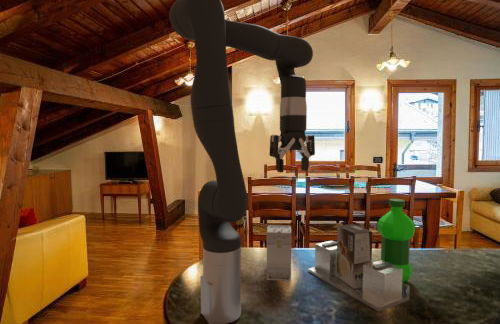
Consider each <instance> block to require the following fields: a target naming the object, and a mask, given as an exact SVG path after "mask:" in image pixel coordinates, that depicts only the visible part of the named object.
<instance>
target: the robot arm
mask: <svg viewBox="0 0 500 324" xmlns="http://www.w3.org/2000/svg"><path fill="white" fill-rule="evenodd" d="M168 14H169V17H168V18H169V22H170V24H171V27H172V29H173V30H174V32H175V33H177V35H178V36H179V37H182V38H184V39H186V40H189V41H194V48H195V60H196V61H195V62H196V63H195V64H196V65H195V69H194V70H195V71H194V76H193V80H192V86H191V92H190V108H191V115H192V121H193V127H194V131H195V133H196V136H197V138H198V140H199V142H200V143H201V145H202V147H203V149H204V150H205V151H206V153H207V155H208V157H209V158H210V161H211V163H212V165H213V168H214V173H215V179H216V180H214V179H213V180H209V181H207V182H206V183H204V184H203V185H202V186H201V189H200V190H199V194H198V198H197V215H198V228H199V235H200V238H201V241H202V255H203V256H202V266H203V267H202V268H203V271H202V272H203V274H202V275H201V276H200V313H201V315H202V316H203V317H204V319H205V320H206V321H207V323H208V324H229V323H233V322H235V321H237V320H239V318H240V317H241V314H242V298H241V297H242V281H241V280H242V264H241V263H242V254H241V253H242V243H241V242H242V239H241V234H240V233H239V232H238V231H236V230H235V228H234V227H233V226H232V225H231V223H237V222H240V221H241V220H242V219H243V218H244V216H245V214H246V211H247V209H248V193H247V188H246V187H247V186H246V183H245V179H244V174H243V170H242V165H241V160H240V155H239V150H238V149H239V148H238V142H237V141H238V140H237V137H236V129H235V128H236V127H235V116H234V110H233V101H232V96H231V90H230V89H231V88H230V80H229V70H228V62H227V48H232V49H235V50H239V51H242V52H245V53H248V54H251V55H253V56H256V57H258V58H261V59H265V60H267V61H275V65H276V69H277V74H278V79H279V81H280V103H279V104H280V105H279V131H280V134H279V135H278V134H272V135H270V137H269V138H270V139H269V154H268V155H269V157H272V158H274V159H275V170H276V171H277V173H284V170H285V169H284V168H285V167H284V164H285V163H284V159H283V158H284V156H285V155H286V154H287V153H288V152H289V151H297V152H298V153H299V154H300V156H301V158H300V159H301V161H300V163H301V166H300V169H301V171H303V172H304V171H305V172H307V171H308V169H309V167H310V158H311V157H313V156H315V154H316V148H315V147H316V145H315V144H316V142H315V135H313V134H308V135H307V134H306V131H307V118H308V117H307V113H308V112H307V111H308V108H307V106H308V105H307V99H306V98H307V81H306V79H305V77H304V76H300V75H296V72H295V71H296V70H295V69H297V68H302V67H306V66H307V65H309V64H310V63H311V61H312V59H313V56H314V52H313V51H314V50H313V48H312V46H311V45H310V43H309V42H308V41H307V40H306V39H303V38H301V37H298V36H292V35H286V34H280V33H278V32H276V31H274V30H272V29H269V28H267V27H265V26H261V25H259V24H253V23H247V22H240V21H233V20H229V19H226V15H225V8H224V5H223V3H222V0H175V1H174V2H173V3H172V4H171V6H170V9H169V13H168ZM279 143H281V144H280V145H279Z"/></svg>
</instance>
